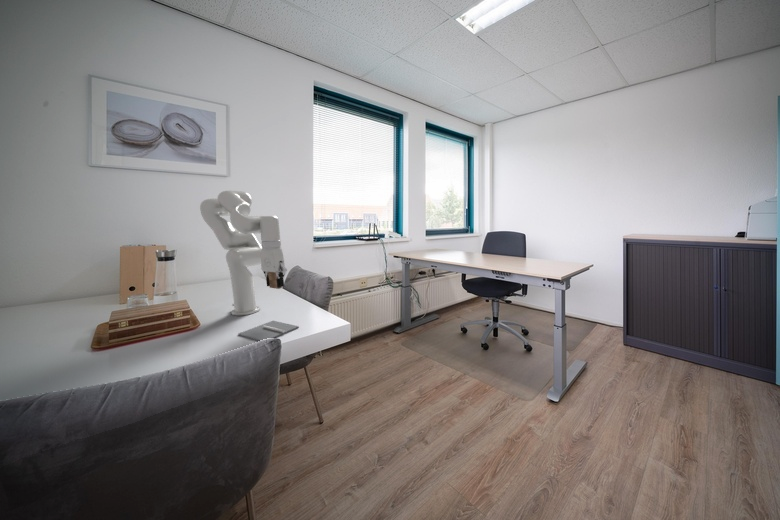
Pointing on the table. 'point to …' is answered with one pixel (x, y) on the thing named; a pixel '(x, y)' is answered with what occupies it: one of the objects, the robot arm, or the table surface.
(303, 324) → the table surface
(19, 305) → the table surface
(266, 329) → the mat
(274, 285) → the tile
